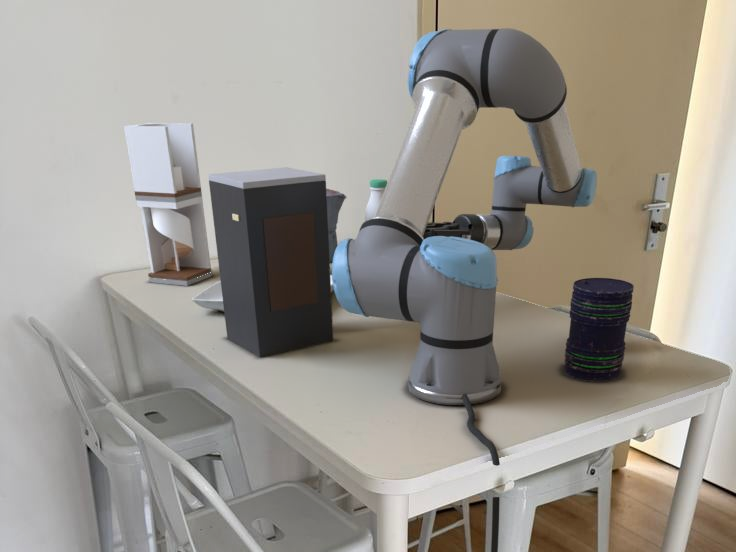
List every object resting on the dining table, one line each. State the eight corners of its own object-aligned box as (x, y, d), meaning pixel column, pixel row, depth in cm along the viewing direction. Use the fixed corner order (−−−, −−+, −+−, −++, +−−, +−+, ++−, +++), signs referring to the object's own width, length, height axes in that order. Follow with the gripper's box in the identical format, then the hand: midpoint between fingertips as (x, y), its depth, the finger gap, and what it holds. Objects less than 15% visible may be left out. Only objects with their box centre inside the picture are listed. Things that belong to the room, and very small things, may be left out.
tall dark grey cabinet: (297, 324, 160) (286, 167, 145) (333, 341, 150) (326, 174, 135) (226, 338, 152) (206, 174, 137) (259, 357, 142) (242, 182, 127)
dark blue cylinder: (628, 368, 135) (641, 281, 128) (612, 385, 128) (625, 295, 120) (573, 359, 140) (583, 275, 132) (554, 375, 132) (564, 287, 125)
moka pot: (344, 264, 207) (341, 184, 197) (289, 262, 210) (284, 183, 199) (353, 256, 215) (350, 179, 205) (300, 255, 218) (295, 178, 207)
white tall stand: (149, 282, 193) (123, 126, 175) (175, 272, 201) (152, 122, 183) (187, 285, 189) (165, 126, 171) (211, 276, 197) (193, 123, 180)
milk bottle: (397, 259, 211) (397, 180, 201) (371, 262, 209) (370, 182, 199) (387, 253, 218) (386, 177, 207) (361, 256, 215) (359, 179, 205)
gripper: (496, 256, 164) (410, 259, 151) (448, 244, 175) (363, 246, 162) (502, 219, 161) (414, 218, 148) (452, 209, 172) (366, 208, 159)
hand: (387, 233), depth 155 cm, fingers closed on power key, 3 cm apart
